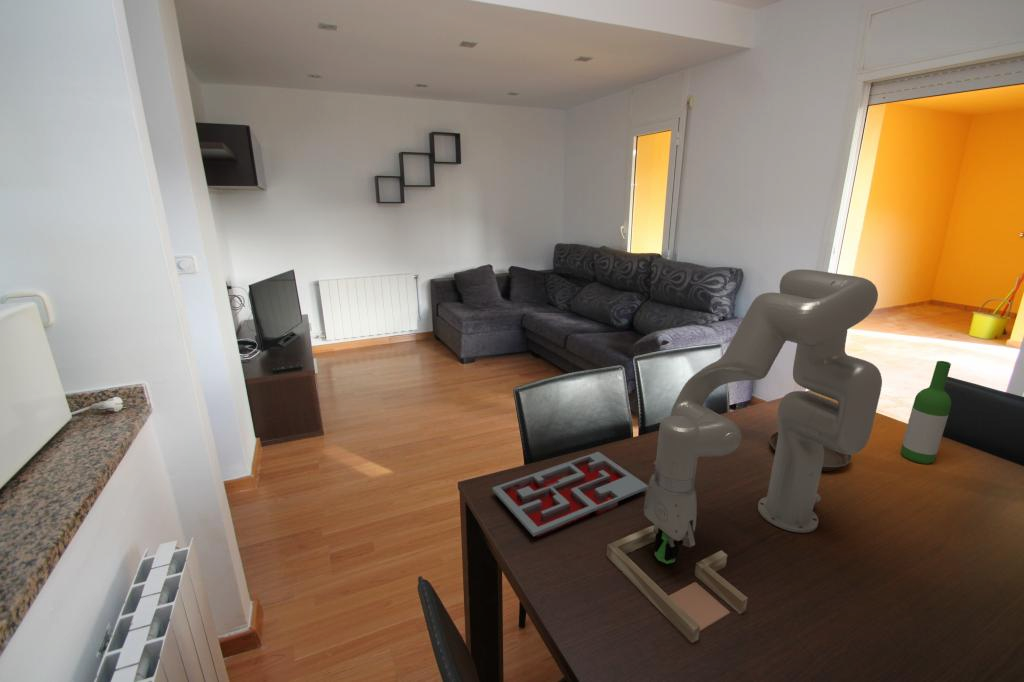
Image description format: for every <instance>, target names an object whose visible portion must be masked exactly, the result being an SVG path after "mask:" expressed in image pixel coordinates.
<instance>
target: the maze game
mask: <svg viewBox="0 0 1024 682" xmlns="http://www.w3.org/2000/svg"><path fill="white" fill-rule="evenodd" d="M647 488H648V484H646V483H645V482H643V481H642V480H641V479H639V478H638V477H636V476H635V475H633V474H632V473H630V472H628V470H626V469H625V468H623V467H621V466H620V465H618V464H617V463H615V462H614V461H613V460H611V459H610V458H608V457H607V456H605V455H604V454H603V453H601V452H600V451H596V452H594V453H590V454H588V455H585V456H581V457H578V458H576V459H573V460H569V461H567V462H563V463H561V464H558V465H555V466H552V467H549V468H547V469H543V470H540V471H537V472H535V473H532V474H528V475H525V476H522V477H519V478H516V479H512V480H511V481H507V482H504V483H502V484H499V485H496V486H493V487H492V489H491V490H492V491H493V493H494V495H496V496H497V497H498V498H499V500H500V501H501V502H502V503H503V504H504V505H505V506H506V508H507V509H508V510H509V511H510V512H511V513H512V514H513V516H515V518H516V519H518V521H519V523H521V525H522V526H524V528H525V529H526V530H527V531H528V532H529V534H531V535H532V537H537V538H539V537H541V536H544V535H547V534H550V533H552V532H554V531H556V530H558V528H559V529H561V528H563V527H566V526H568V525H570V524H572V522H573V523H575V522H578V521H579V519H580V520H582V519H584V517H585V518H587V517H589V516H590V514H591V513H594V514H595V513H596V514H597V515H596V514H595V515H596V516H598V515H600V513H601V514H602V512H603V513H605V512H608V511H610V510H612V509H614V507H615V508H616V506H617V507H618V506H619V501H622V500H624V499H626V498H629V497H632V496H634V495H636V494H638V493H641V492H643V491H647ZM611 508H612V509H611ZM609 509H610V510H609ZM607 510H608V511H607ZM604 511H605V512H604ZM586 516H587V517H586ZM581 518H582V519H581ZM577 520H578V521H577ZM574 521H575V522H574ZM567 524H568V525H567ZM565 525H566V526H565Z"/></svg>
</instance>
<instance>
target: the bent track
mask: <svg viewBox="0 0 1024 682" xmlns="http://www.w3.org/2000/svg"><path fill="white" fill-rule="evenodd" d="M653 528H654V526H653V524H652V525H651V526H648V527H645V528H643V529H641V530H638V531H636V532H634V533H632V534H629V535H627V536H625V537H622V538H620V539H618V540H615V541H613V542H610V543H608V544H607V545H606V557H607V559H609V560H610V561H611V563H613V564H614V566H615V567H616V568H617V569H618V570H619V571H620V572H621V571H622V572H621V573H622V574H623V575H624V576H625V577H626V578H628V580H629V581H630V582H631V583H632V584H633V585H634V586H635V587H636V588H637V589H638V590H639V591H640V592H641V593H642V594H643V595H644V596H645V597H646V598H647V599H648V600H649V601H650V602H651V603H652V604H653V605H654V606H655V607H656V608H657V610H658V611H659V612H661V614H662V615H663V616H664V617H665V618H666V619H667V620H668V621H669V622H670V623H671V624H672V625H673V626H674V628H676V629H677V630H678V631H679V632H680V633H681V634H682V635H683V636H684V637H685V638H686V639H687V640H688V641H689V642H690V643H691V644H693V643H695V642H697V641H699V636H700V633H701V631H703V630H705V629H706V628H708V627H710V626H711V625H713V624H714V623H716V622H718V621H719V620H721V619H723V618H725V617H726V616H728V615H729V614H731V612H730V610H728V609H727V608H726V607H725V605H722V603H721V602H719V601H718V600H717V599H716V598H715V597H714V596H713V595H712V594H710V593H709V592H708V591H707V590H705V589H704V588H703V586H701V585H699V583H698V582H696V581H695V582H692V583H690V584H688V585H686V586H685V587H682V588H681V589H679V590H677V591H675V592H673V593H671V594H670V595H668V594H667V593H666V592H665V591H664V590H663V589H662V588H661V587H660V586H659V585H658V584H657V583H656V582H655V581H654V580H653V579H651V577H650V576H648V575H647V574H646V573H645V572H644V571H643V570H642V569H641V568H640V567H639V566H638V565H637V564H636V563H635V562H634V561H633V560H632V559H631V558H630V557H629V556H628V554H630V553H632V552H634V551H636V549H637V550H638V549H641V548H643V547H646V546H647V545H650V544H652V543H655V537H656V534H655V533H654V531H653ZM629 552H630V553H629ZM627 553H628V554H627ZM727 559H728V554H727V552H726V553H725V551H723V550H719V551H717V552H715V553H713V554H711V555H709V556H707V557H705V558H702V559H701V560H700V561H697V562H696V563H695V567H694V568H695V569H694V576H695V577H696V578H697V579H698V580H699V581H700V582H701V583H703V584H704V585H705V586H707V587H708V589H710V590H711V591H713V593H715V594H716V595H717V596H718V597H719V598H720V599H722V600H723V601H724V602H725V603H727V604H728V605H729V606H730V607H731V608H732V609H733V610H734V611H736V612H737V613H738V614H739V615H741V614H743V613H745V612H746V609H747V605H748V600H749V599H748V597H747V596H746V595H745V594H743V592H741V591H740V590H738V589H737V588H736V587H735V586H733V584H731V583H730V582H729V581H727V580H726V579H725V578H724V577H722V575H720V574H719V573H717V572H719V571H720V570H722V569H724V568H726V566H727Z"/></svg>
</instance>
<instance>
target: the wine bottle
mask: <svg viewBox="0 0 1024 682" xmlns="http://www.w3.org/2000/svg"><path fill="white" fill-rule="evenodd" d="M951 365H952V363H951V362H949V361H944V360H937V361H936V364H935V367H934V371H933V374H932V378H931V381H930V384H929V386H928V387H926V388H923V389H921V390H920V391H919V392H918V393H917V394H916V395H915V398H914V401H913V404H912V408H911V410H910V415H909V418H908V422H907V426H906V430H905V432H904V435H903V440H902V444H901V447H900V453H901V456H903V457H904V458H905V459H906V460H910V461H911V462H914V463H917V464H925V465H926V464H932V463H933V462H934V461H935V460H936V457H937V454H938V452H939V451H938V450H939V448H940V444H941V442H942V438H943V434H944V431H945V428H946V425H947V422H948V421H947V420H948V418H949V415H950V410H951V407H952V399H951V397H950V395H949V393H947V392H946V391H945V387H946V384H947V381H948V380H947V379H948V376H949V372H950V368H951Z"/></svg>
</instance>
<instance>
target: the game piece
mask: <svg viewBox="0 0 1024 682" xmlns="http://www.w3.org/2000/svg"><path fill="white" fill-rule="evenodd" d="M662 539H663V540H664V541H663V542H662V544H661V546H660V548H659V549H658V551H657V552H656V551H655V550H654V557H656V559H657V560H658V561H659V562H661V563H664V564H666V565H667V564H668V565H669V564H672V563H674V562H675V561H676V558H677V557H676V558H674V559H673V558H672V559H670V560H668V561H666V560H665V558H664V557H665V548H666V544H667V543H669V536H668V535H667V534H666V533H665V532H662Z"/></svg>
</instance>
